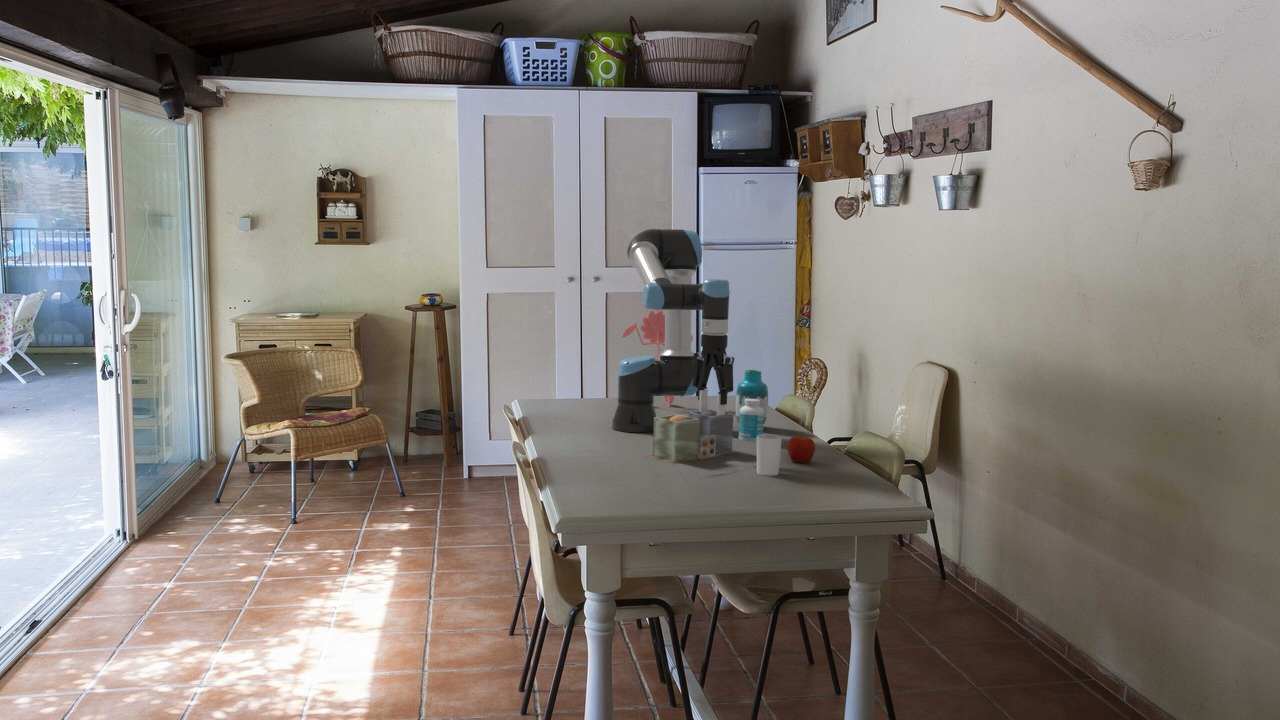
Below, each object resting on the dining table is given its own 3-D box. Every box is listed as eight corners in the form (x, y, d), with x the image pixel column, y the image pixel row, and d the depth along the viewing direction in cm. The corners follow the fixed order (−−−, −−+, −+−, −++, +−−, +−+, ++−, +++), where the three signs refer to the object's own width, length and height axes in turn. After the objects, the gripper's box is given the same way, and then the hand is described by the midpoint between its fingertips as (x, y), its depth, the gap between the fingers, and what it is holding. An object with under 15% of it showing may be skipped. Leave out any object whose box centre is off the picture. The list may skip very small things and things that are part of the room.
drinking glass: (773, 477, 270) (775, 440, 268) (750, 473, 273) (752, 436, 272) (784, 472, 275) (785, 436, 274) (761, 469, 279) (763, 433, 277)
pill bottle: (761, 446, 309) (763, 402, 307) (737, 444, 311) (738, 400, 309) (763, 441, 316) (765, 398, 315) (739, 439, 318) (741, 397, 316)
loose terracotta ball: (666, 439, 284) (671, 423, 288) (686, 442, 283) (692, 426, 286) (663, 425, 280) (669, 409, 284) (684, 428, 278) (690, 412, 282)
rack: (645, 461, 284) (646, 417, 282) (708, 449, 302) (709, 408, 300) (675, 469, 275) (677, 423, 274) (739, 456, 293) (740, 414, 292)
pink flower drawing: (692, 407, 374) (695, 312, 370) (623, 408, 369) (625, 311, 365) (683, 400, 389) (686, 309, 385) (616, 401, 384) (618, 308, 380)
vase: (771, 427, 341) (773, 370, 338) (761, 432, 331) (763, 373, 329) (740, 423, 345) (743, 367, 343) (730, 428, 335) (732, 371, 333)
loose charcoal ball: (702, 435, 294) (690, 422, 291) (712, 420, 297) (700, 406, 294) (716, 435, 289) (704, 422, 287) (726, 419, 292) (714, 405, 289)
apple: (797, 466, 283) (798, 438, 282) (780, 460, 290) (782, 433, 289) (819, 464, 287) (821, 436, 286) (802, 458, 294) (804, 431, 293)
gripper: (681, 331, 293) (678, 410, 296) (731, 337, 280) (728, 420, 283) (698, 330, 299) (696, 407, 302) (748, 336, 285) (745, 417, 288)
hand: (711, 413), depth 292 cm, fingers open, 6 cm apart
